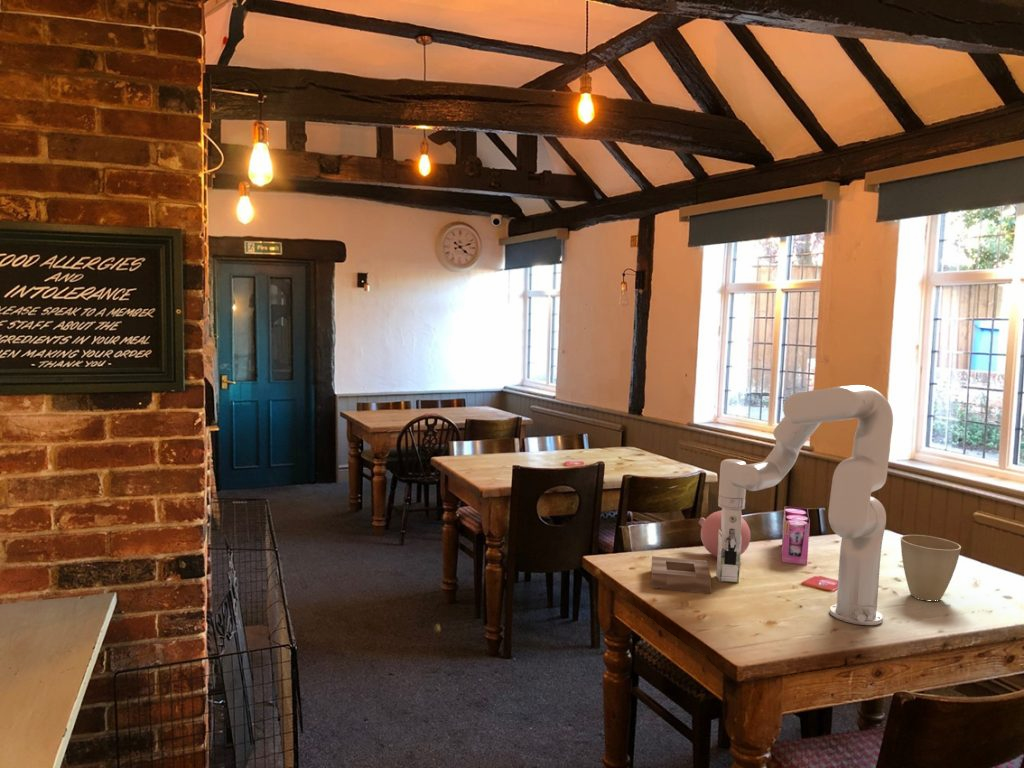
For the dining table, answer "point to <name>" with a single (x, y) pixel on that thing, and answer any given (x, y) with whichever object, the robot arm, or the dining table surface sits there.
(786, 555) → the gum box
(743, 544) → the balloon
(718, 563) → the syrup box
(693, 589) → the walnut stand
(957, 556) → the plant pot
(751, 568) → the dining table surface
